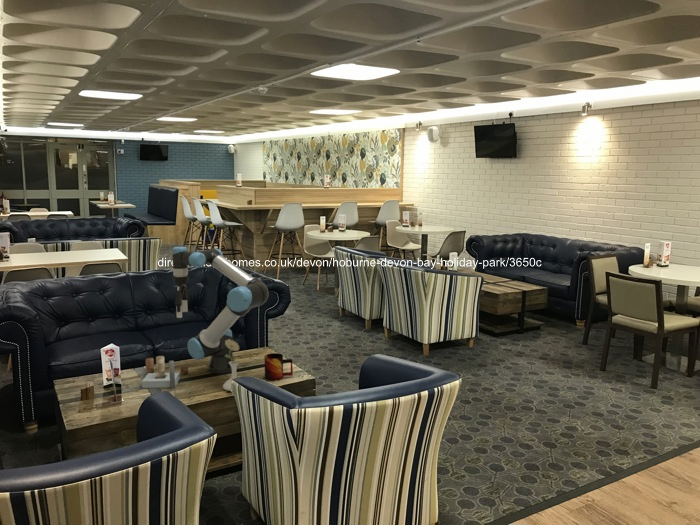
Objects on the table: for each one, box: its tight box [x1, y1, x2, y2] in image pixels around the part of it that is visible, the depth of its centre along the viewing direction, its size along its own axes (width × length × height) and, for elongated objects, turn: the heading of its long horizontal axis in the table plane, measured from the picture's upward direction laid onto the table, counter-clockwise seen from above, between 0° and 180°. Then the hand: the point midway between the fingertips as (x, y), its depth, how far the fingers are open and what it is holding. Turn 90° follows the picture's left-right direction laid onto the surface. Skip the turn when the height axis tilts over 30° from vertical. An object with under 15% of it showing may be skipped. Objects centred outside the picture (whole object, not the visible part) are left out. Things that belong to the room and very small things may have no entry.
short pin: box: [179, 363, 189, 377], centre depth 299 cm, size 4×4×5 cm
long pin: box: [155, 355, 166, 379], centre depth 285 cm, size 4×4×14 cm
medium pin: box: [145, 357, 155, 376], centre depth 298 cm, size 4×4×9 cm
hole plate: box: [141, 360, 181, 390], centre depth 284 cm, size 17×15×14 cm
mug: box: [263, 352, 294, 382], centre depth 295 cm, size 10×14×12 cm
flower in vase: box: [222, 339, 240, 392], centre depth 277 cm, size 13×11×25 cm
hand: (182, 314), depth 300 cm, fingers open, 13 cm apart
